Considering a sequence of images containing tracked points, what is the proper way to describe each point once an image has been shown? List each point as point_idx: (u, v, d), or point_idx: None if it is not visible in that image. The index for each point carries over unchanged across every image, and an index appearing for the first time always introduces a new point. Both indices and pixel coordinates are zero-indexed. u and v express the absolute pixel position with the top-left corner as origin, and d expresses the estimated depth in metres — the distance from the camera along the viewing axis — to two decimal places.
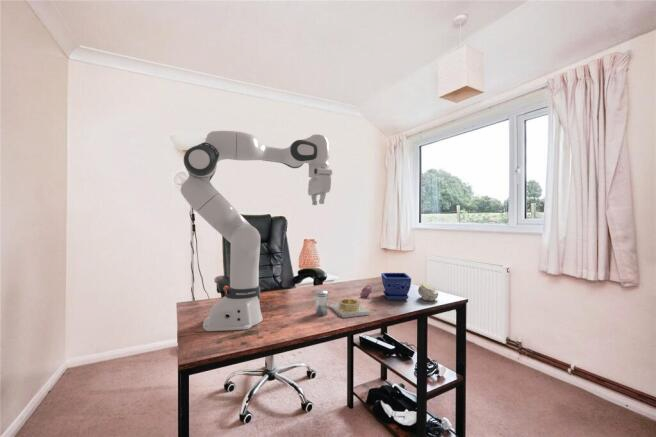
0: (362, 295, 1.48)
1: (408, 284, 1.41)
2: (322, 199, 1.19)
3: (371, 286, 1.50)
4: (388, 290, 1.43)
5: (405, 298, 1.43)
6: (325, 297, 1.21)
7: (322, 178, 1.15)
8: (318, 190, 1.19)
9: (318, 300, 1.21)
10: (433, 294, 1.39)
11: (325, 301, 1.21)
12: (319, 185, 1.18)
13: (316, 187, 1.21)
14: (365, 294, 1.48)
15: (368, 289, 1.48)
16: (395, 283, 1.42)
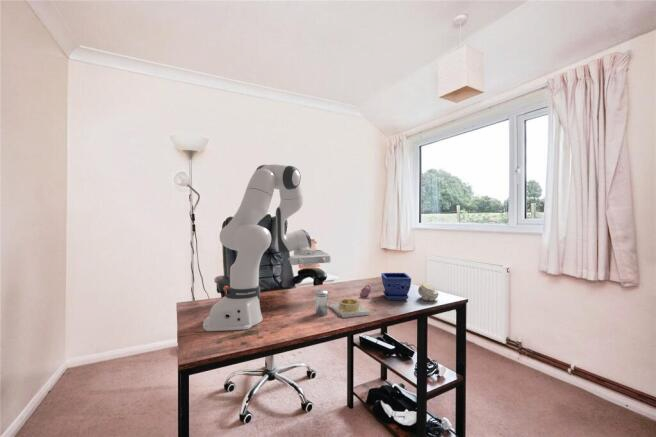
0: (361, 295, 1.48)
1: (408, 284, 1.41)
2: None
3: (370, 286, 1.50)
4: (388, 290, 1.43)
5: (405, 298, 1.43)
6: (325, 297, 1.21)
7: None
8: (321, 255, 1.41)
9: (318, 300, 1.21)
10: (433, 294, 1.39)
11: (325, 301, 1.21)
12: (321, 254, 1.43)
13: (315, 255, 1.42)
14: (364, 294, 1.48)
15: (367, 289, 1.48)
16: (395, 283, 1.42)
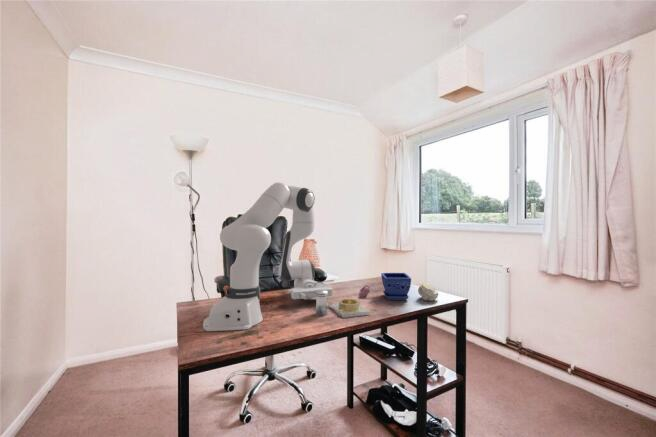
0: (360, 295, 1.48)
1: (408, 284, 1.41)
2: None
3: (369, 286, 1.51)
4: (388, 290, 1.43)
5: (405, 298, 1.43)
6: (325, 297, 1.21)
7: None
8: (323, 288, 1.37)
9: (318, 300, 1.21)
10: (433, 294, 1.39)
11: (325, 301, 1.21)
12: (323, 287, 1.39)
13: (317, 288, 1.38)
14: (363, 294, 1.48)
15: (366, 289, 1.48)
16: (395, 283, 1.42)
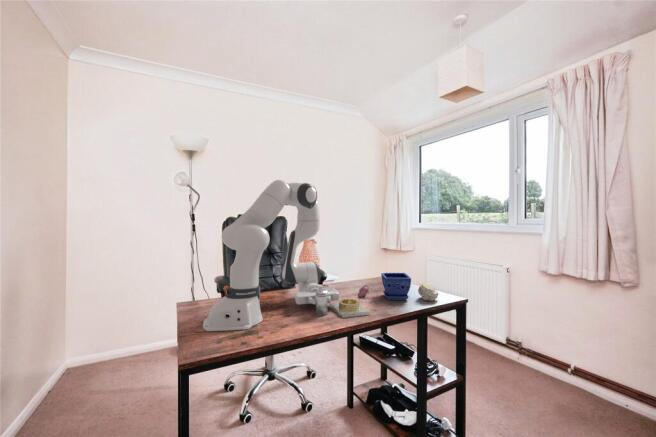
0: (359, 295, 1.48)
1: (408, 284, 1.41)
2: None
3: (368, 286, 1.51)
4: (388, 290, 1.43)
5: (405, 298, 1.43)
6: (325, 297, 1.21)
7: None
8: (330, 293, 1.29)
9: (318, 300, 1.21)
10: (433, 294, 1.39)
11: (325, 301, 1.21)
12: (329, 291, 1.32)
13: None
14: (362, 294, 1.48)
15: (365, 289, 1.48)
16: (395, 283, 1.42)
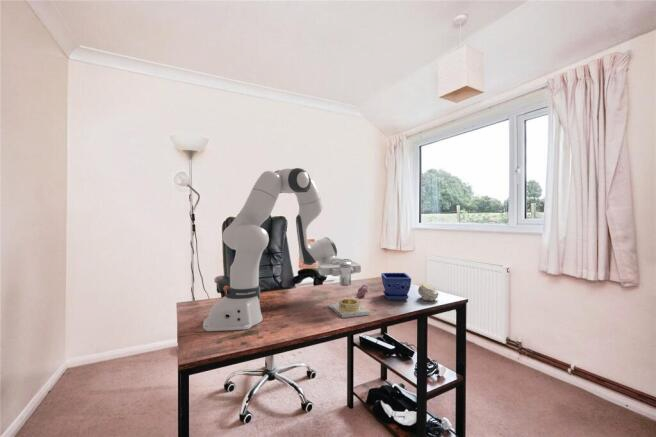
0: (358, 295, 1.48)
1: (408, 284, 1.41)
2: None
3: (367, 286, 1.51)
4: (388, 290, 1.43)
5: (405, 298, 1.43)
6: (349, 268, 1.25)
7: None
8: (352, 265, 1.33)
9: (342, 271, 1.25)
10: (433, 294, 1.39)
11: (349, 271, 1.25)
12: (351, 264, 1.35)
13: None
14: (361, 294, 1.48)
15: (364, 289, 1.48)
16: (395, 283, 1.42)
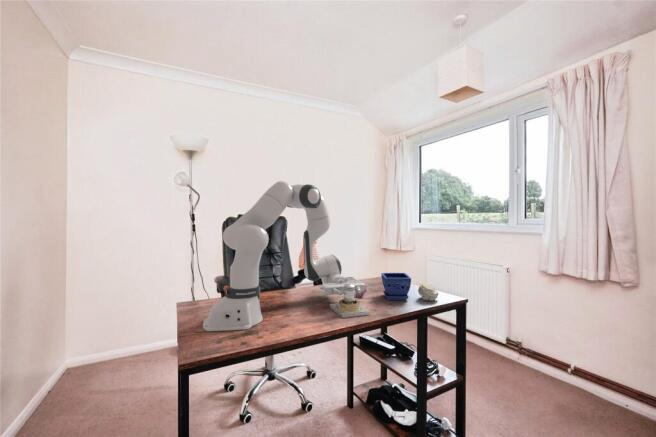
0: (357, 295, 1.48)
1: (408, 284, 1.41)
2: None
3: (366, 286, 1.51)
4: (388, 290, 1.43)
5: (405, 298, 1.43)
6: (353, 291, 1.26)
7: None
8: (356, 284, 1.34)
9: (346, 294, 1.26)
10: (433, 294, 1.39)
11: (353, 294, 1.26)
12: (355, 283, 1.36)
13: None
14: (360, 294, 1.48)
15: None
16: (395, 283, 1.42)
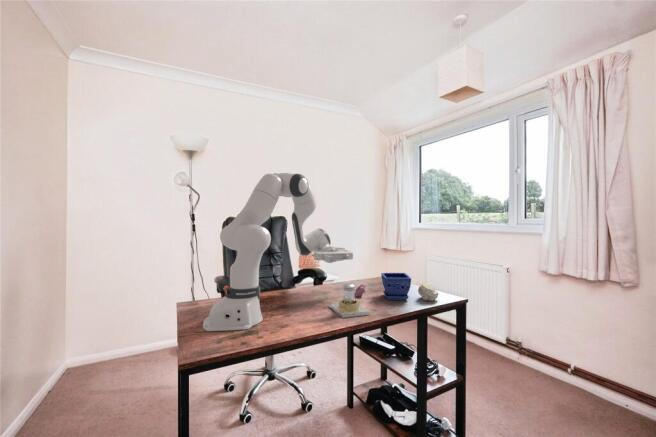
0: (356, 295, 1.48)
1: (408, 284, 1.41)
2: None
3: (365, 286, 1.51)
4: (388, 290, 1.43)
5: (405, 298, 1.43)
6: (353, 291, 1.26)
7: None
8: (345, 252, 1.46)
9: (346, 294, 1.26)
10: (433, 294, 1.39)
11: (352, 294, 1.26)
12: None
13: (339, 252, 1.46)
14: (359, 294, 1.48)
15: (362, 289, 1.48)
16: (395, 283, 1.42)
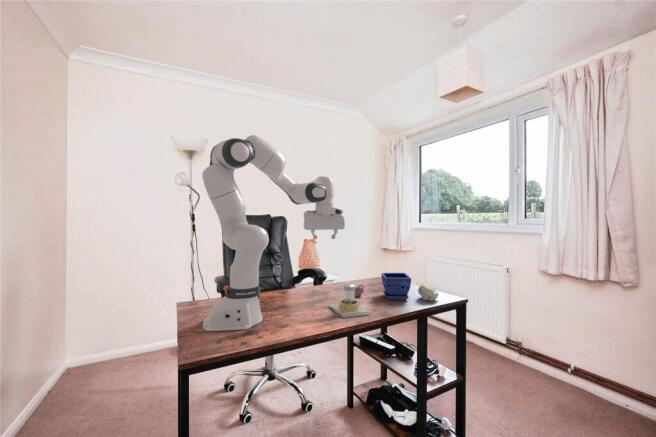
0: (355, 295, 1.49)
1: (408, 284, 1.41)
2: None
3: (364, 286, 1.51)
4: (388, 290, 1.43)
5: (405, 298, 1.43)
6: (353, 291, 1.26)
7: None
8: (336, 227, 1.38)
9: (346, 293, 1.26)
10: (433, 294, 1.39)
11: (353, 294, 1.26)
12: (337, 223, 1.39)
13: (331, 224, 1.38)
14: (358, 294, 1.48)
15: (361, 289, 1.48)
16: (395, 283, 1.42)
